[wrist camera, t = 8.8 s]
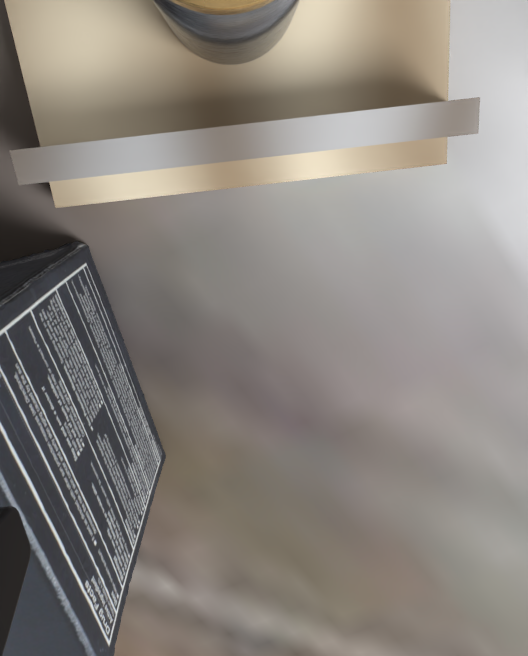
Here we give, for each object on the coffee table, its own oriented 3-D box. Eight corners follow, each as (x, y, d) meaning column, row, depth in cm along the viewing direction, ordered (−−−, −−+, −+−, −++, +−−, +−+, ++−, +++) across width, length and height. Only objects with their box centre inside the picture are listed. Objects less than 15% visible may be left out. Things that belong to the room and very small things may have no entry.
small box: (-69, 276, 20) (-368, 410, 10) (88, 236, 20) (-66, 335, 10) (37, 489, 24) (-108, 736, 14) (170, 458, 23) (118, 689, 14)
